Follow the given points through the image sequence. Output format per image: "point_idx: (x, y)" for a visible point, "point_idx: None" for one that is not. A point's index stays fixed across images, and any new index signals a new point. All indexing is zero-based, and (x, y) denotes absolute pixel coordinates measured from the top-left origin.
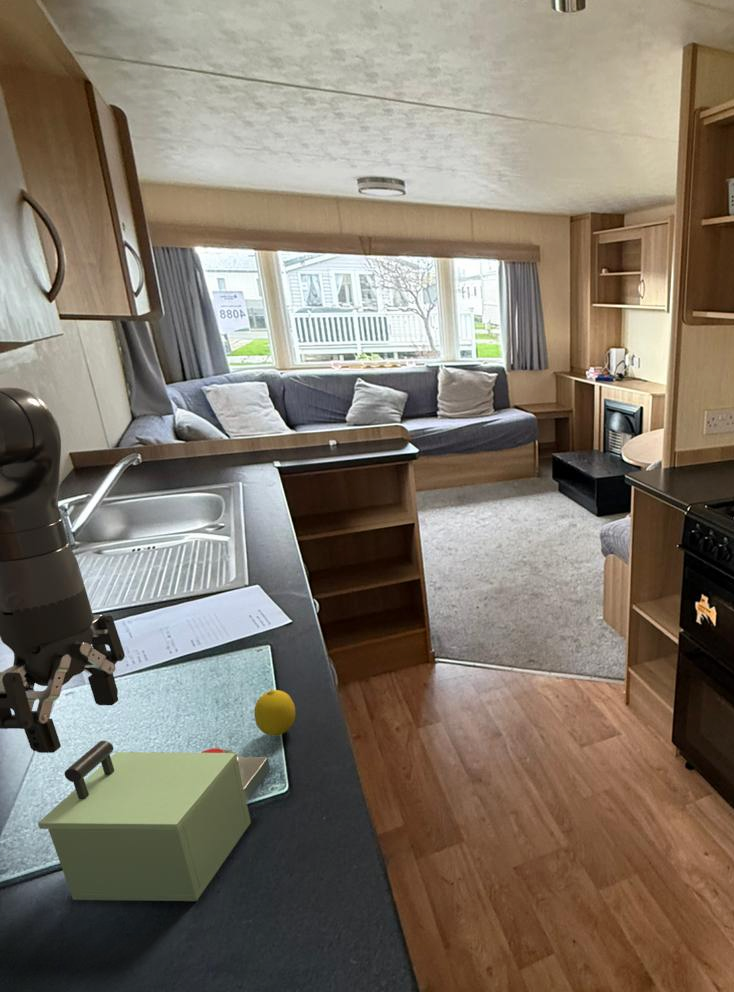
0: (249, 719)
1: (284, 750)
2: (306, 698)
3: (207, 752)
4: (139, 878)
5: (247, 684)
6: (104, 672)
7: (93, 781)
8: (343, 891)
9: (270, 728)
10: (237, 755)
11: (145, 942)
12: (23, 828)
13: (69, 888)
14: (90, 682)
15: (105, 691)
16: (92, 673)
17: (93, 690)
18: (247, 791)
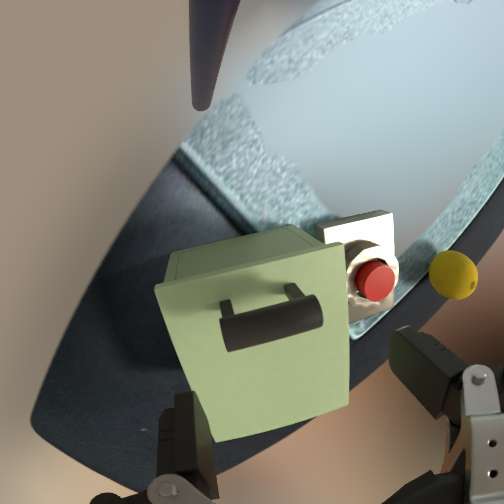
0: (452, 207)
1: (411, 289)
2: (476, 245)
3: (387, 275)
4: None
5: (490, 160)
6: (448, 423)
7: (264, 282)
8: (247, 443)
9: (433, 281)
10: (389, 295)
11: (157, 360)
12: (252, 78)
13: (169, 258)
14: (437, 370)
15: (413, 380)
16: (457, 393)
17: (420, 354)
18: None
